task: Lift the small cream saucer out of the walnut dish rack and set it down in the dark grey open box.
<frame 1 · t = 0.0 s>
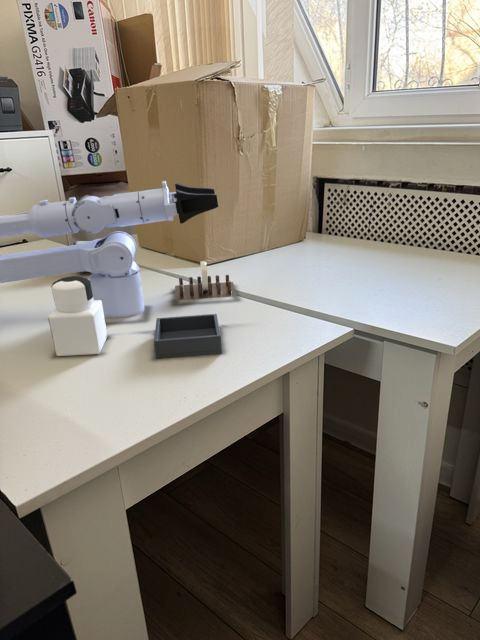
hand: (216, 197, 93), 22 cm above the table, tool horizontal, fingers open, 7 cm apart
dish rack: (205, 294, 110), on the table
dark grey open box: (188, 343, 87), on the table
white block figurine: (83, 347, 87), on the table
saucer: (205, 290, 110), point 1 cm above the table, touching dish rack
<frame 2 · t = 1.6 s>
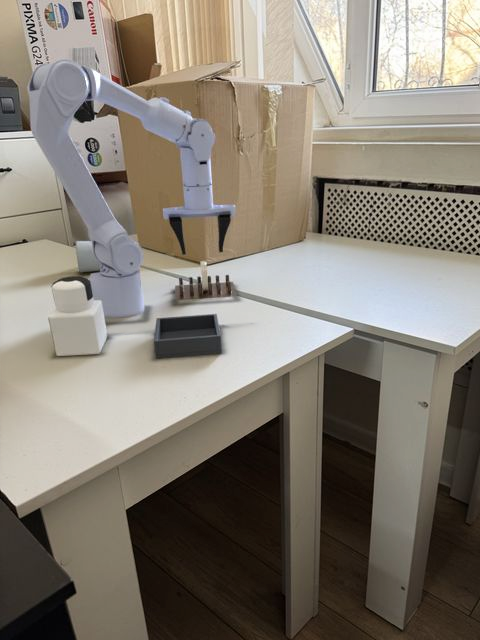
hand: (202, 252, 106), 9 cm above the table, tool pointing down, fingers open, 7 cm apart
nothing on the table moved.
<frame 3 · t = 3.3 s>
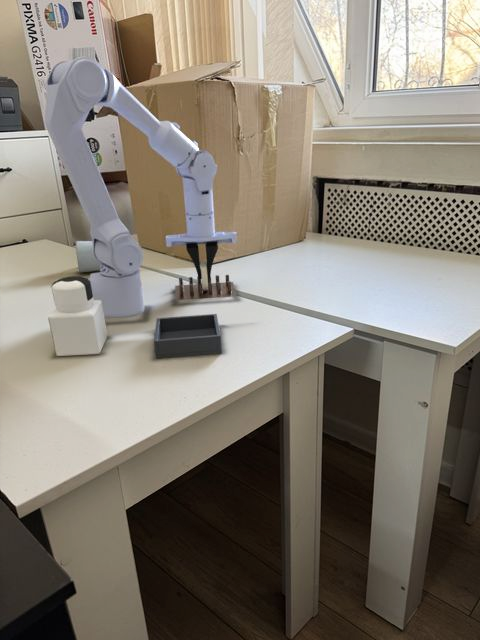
hand: (204, 277, 109), 4 cm above the table, tool pointing down, fingers closed on saucer, 1 cm apart
saucer: (205, 290, 110), point 1 cm above the table, touching dish rack, gripper
everything else where it was.
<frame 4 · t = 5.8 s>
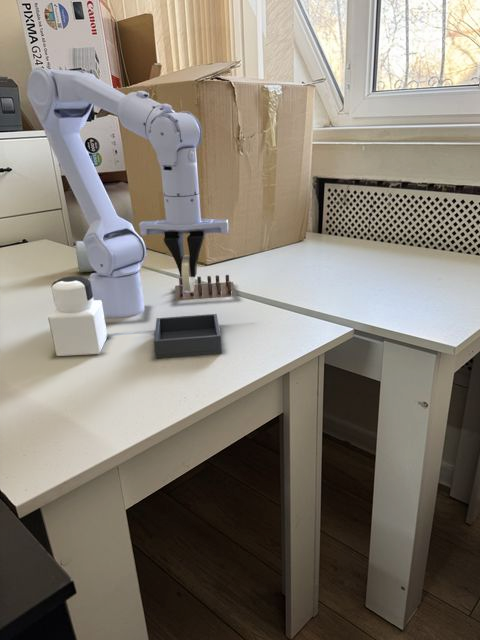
hand: (188, 275, 88), 10 cm above the table, tool pointing down, fingers closed on saucer
saucer: (190, 291, 89), point 8 cm above the table, touching gripper
everything else where it was.
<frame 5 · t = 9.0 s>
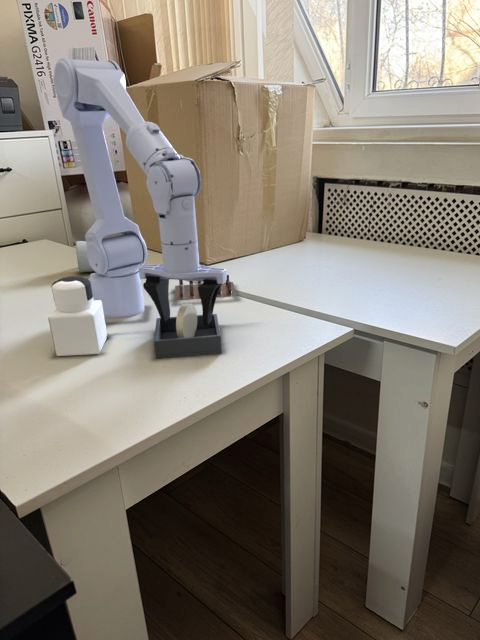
hand: (186, 321, 86), 4 cm above the table, tool pointing down, fingers open, 7 cm apart
saucer: (188, 340, 87), point 1 cm above the table, touching dark grey open box
everything else where it was.
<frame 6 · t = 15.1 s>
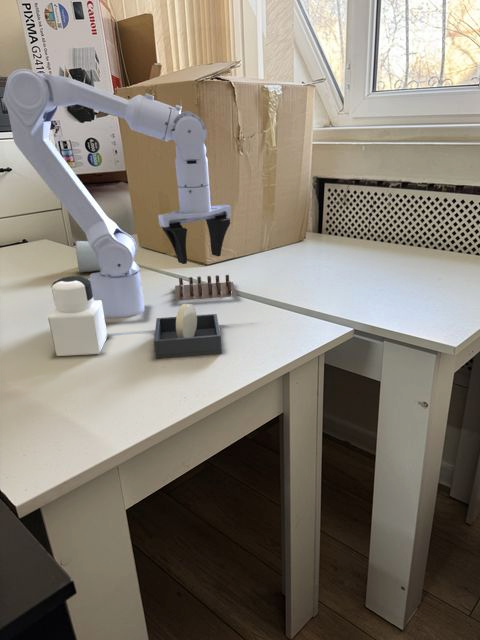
hand: (199, 259, 98), 10 cm above the table, tool pointing down, fingers open, 7 cm apart
nothing on the table moved.
at the end: saucer inside the target area in the dark grey open box (0.0 cm from its centre), point 0.6 cm above the dark grey open box's base; the gripper is holding nothing; saucer moved 25.3 cm from its start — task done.
